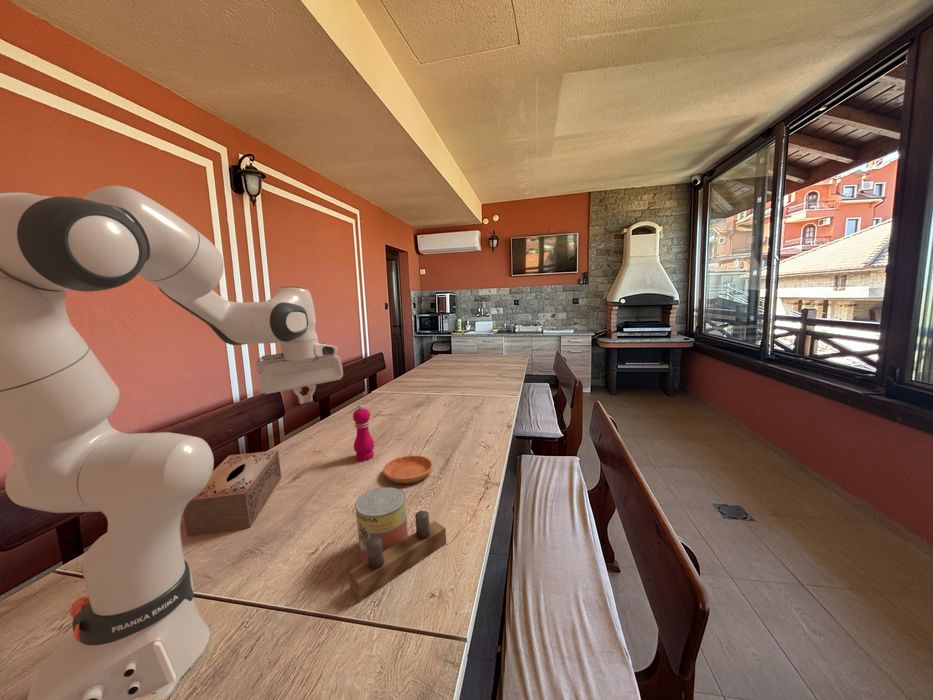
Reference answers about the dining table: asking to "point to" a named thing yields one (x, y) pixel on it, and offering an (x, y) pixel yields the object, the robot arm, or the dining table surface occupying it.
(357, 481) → the dining table surface
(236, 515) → the tissue box cover
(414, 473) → the saucer
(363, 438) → the pepper mill
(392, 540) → the canned food
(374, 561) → the bench stop
